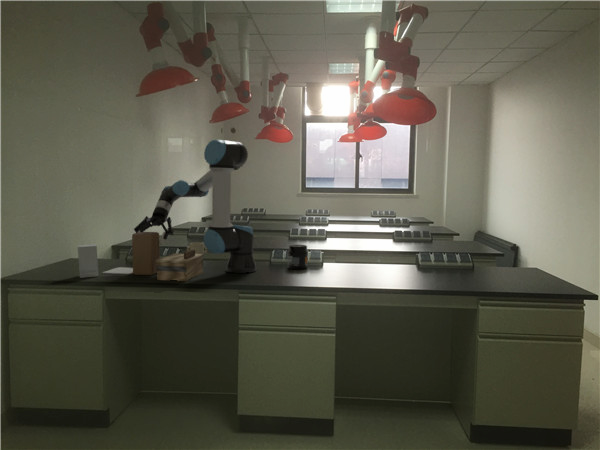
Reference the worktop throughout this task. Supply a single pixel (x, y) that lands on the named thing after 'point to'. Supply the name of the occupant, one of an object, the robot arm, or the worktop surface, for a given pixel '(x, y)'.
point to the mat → (120, 271)
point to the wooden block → (145, 252)
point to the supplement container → (297, 257)
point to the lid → (181, 257)
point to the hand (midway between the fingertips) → (148, 243)
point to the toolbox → (179, 270)
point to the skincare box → (88, 260)
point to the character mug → (197, 247)
